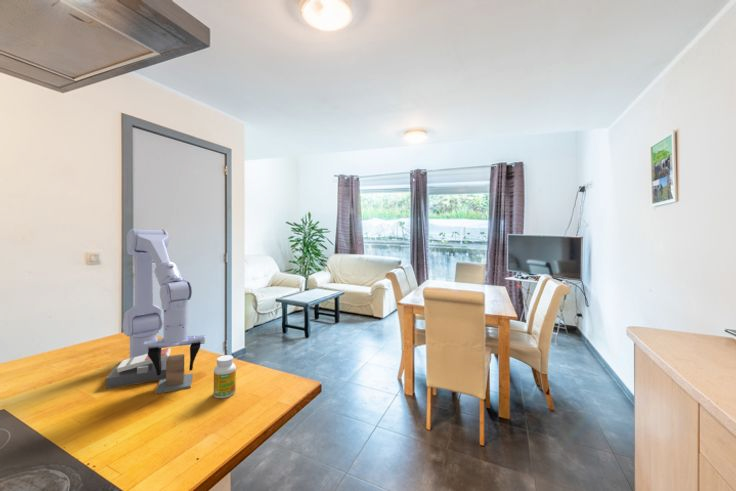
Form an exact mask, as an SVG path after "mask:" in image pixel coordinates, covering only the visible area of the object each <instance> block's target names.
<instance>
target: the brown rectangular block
mask: <svg viewBox="0 0 736 491" xmlns="http://www.w3.org/2000/svg"><path fill="white" fill-rule="evenodd" d="M184 375H185V353H182V354H175V355H169V356H168V358H167V361H166V387H167V386H172V385H178V384H183V382H184Z"/></svg>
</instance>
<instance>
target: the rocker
mask: <svg viewBox="0 0 736 491" xmlns="http://www.w3.org/2000/svg"><path fill="white" fill-rule="evenodd" d="M171 352H172V350H171V347H166V348H162V349H161V360H164V359H167V358H168V356H171ZM150 363H153V362H152V361H151V359H150V358H149V357H148V354H145V355H141V356H137V357H133V358H130V357H129V358H127V359H123V360H122V361H121V362H120V364H118V365H119V366H118V368H117V372H122V371H125V370H129V369H132V368H136V367H139V366H143V365H147V364H150Z"/></svg>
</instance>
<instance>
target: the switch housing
mask: <svg viewBox="0 0 736 491" xmlns="http://www.w3.org/2000/svg"><path fill="white" fill-rule="evenodd" d="M166 361H167V359H164V360H161V374H160V375H158V376H157V372H156V369H155V366H154V364H153V363H150V364H147V365H143V366H139V367H136V368H132V369H129V370H125V371H122V372H117V368H118V366H119V365H120V364H116V365H115V367H114V368H112V370H111V371H110V373H109V374H108V375H107V377H106V379H105V380H106V381H105V387H106V388H105V389H111V388H117V387H125V386H129V385H130V386H131V385H136V384H137V385H138V384H142V383H148V382H154V381H156V382H157V381H160V380H161V378H166Z"/></svg>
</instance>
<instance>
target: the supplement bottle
mask: <svg viewBox="0 0 736 491" xmlns="http://www.w3.org/2000/svg"><path fill="white" fill-rule="evenodd" d="M236 374H237V366H236V364H235V363H234V356H233V355H231V354H225V355H222V356H219V357H217V358H216V366H215V367H214V368H213V397H215V398H217V399H225V398H229V397H231V396H233V395H234V394H235V393H236V389H237V387H236V382H237V381H236V380H237V379H236V378H237V377H236Z"/></svg>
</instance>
